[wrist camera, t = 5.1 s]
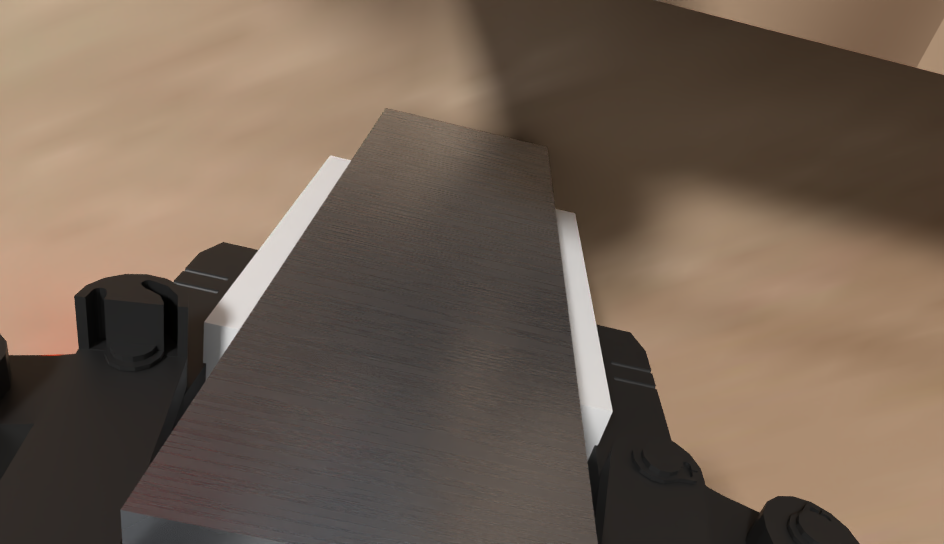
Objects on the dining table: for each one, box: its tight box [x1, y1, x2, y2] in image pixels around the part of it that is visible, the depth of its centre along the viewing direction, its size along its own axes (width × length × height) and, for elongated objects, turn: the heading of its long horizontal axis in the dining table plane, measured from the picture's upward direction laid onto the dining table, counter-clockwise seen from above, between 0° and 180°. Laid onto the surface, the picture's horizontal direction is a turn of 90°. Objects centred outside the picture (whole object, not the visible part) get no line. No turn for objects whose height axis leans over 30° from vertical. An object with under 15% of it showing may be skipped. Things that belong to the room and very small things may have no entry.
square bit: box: [120, 108, 598, 544], centre depth 12 cm, size 4×4×12 cm
